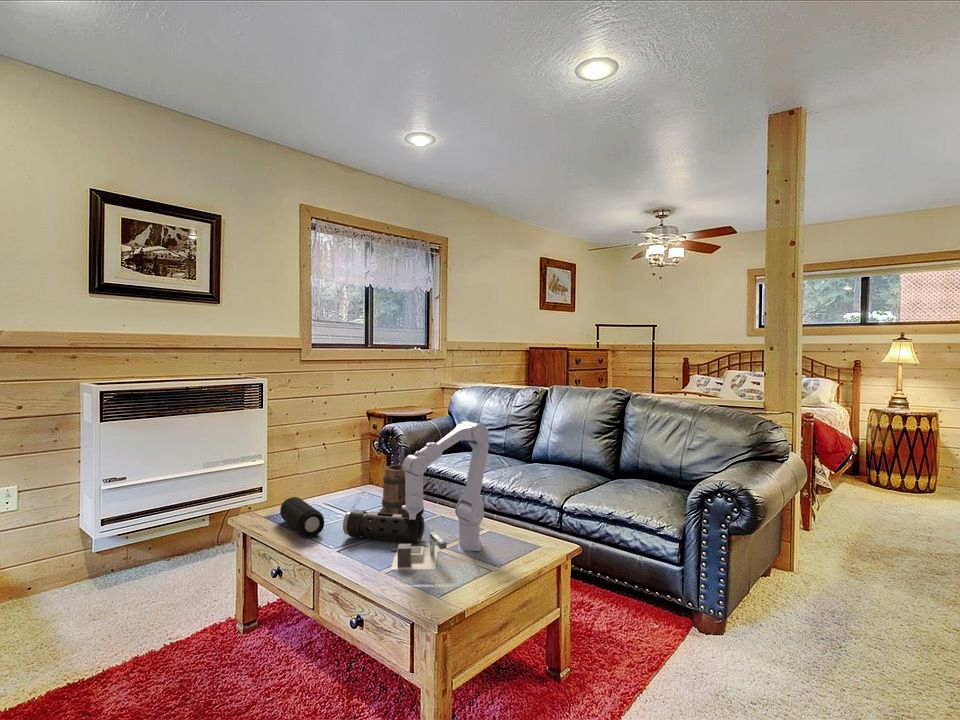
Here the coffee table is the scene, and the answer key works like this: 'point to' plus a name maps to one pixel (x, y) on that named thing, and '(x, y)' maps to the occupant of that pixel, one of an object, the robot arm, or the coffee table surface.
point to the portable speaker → (302, 517)
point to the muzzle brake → (379, 526)
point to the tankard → (394, 490)
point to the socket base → (418, 559)
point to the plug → (403, 555)
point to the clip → (436, 539)
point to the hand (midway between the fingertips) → (414, 534)
